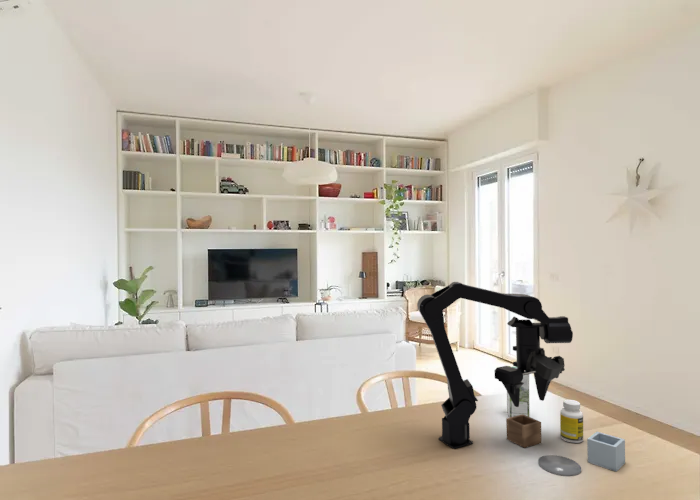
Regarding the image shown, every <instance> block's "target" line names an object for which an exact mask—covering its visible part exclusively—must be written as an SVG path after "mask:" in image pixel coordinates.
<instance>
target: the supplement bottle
mask: <svg viewBox="0 0 700 500" xmlns="http://www.w3.org/2000/svg"><path fill="white" fill-rule="evenodd" d="M562 403H563V404H562V405H563V406H562V407H563V408H561V409H560V411H559V412H560V414H559V416H560V418H559V419H560V421H559V422H560V426H559V427H560V428H559V431H560V432H559V433H560V434H559V435H560V438H561V439H562V440H563V441H565V442H568V443H572V444H580V443H582V442H583V441H584V414H583V412H582V411H581V403H580V402H579V401H577V400H574V399H564V400H563V402H562Z"/></svg>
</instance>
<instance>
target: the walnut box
mask: <svg viewBox="0 0 700 500" xmlns="http://www.w3.org/2000/svg"><path fill="white" fill-rule="evenodd" d="M505 421H506V423H505V424H506V425H505V426H506V440H508V441H509V442H512V443H514V444H516V445H517V446H519V447H521V448H524V449H527V448H530V447H534V446H537V445H540V444H542V443H543V442H542V422H541V421H540V420H537V419H535V418H532V417H528V416H526V415H523V414H522V415H518V416H514V417H507V418H506V419H505Z"/></svg>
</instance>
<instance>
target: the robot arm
mask: <svg viewBox="0 0 700 500" xmlns="http://www.w3.org/2000/svg"><path fill="white" fill-rule="evenodd" d="M459 299H464V300H467V301H468V300H469V301H472V302H476V303H480V304H485V305H489V306H493V307H497V308H501V309H504V310H507V311H509V312H511V313H513V314H516V315H518V316H520V317H523V318H524V319H519V318H518V317H516V316H513V317H512V318H511V319H510V320H509V321H508V322H507V323H506V324H507V325H508V326H509V327H511V328H515V337H516V338H515V345H513V346H512V351H514V352H516V360H515V361H513V362H512V366H516V367H517V369H516V368H512V367H509V366H510V365H504V366H498V367H496V368H495V369H494V379H496V380H497V381H498V382H501V383H502V385H503V386H504V387H503V388H505V390H506V393H507V392H508V394H509V396H510V398H511V400H512V402H513V404H514V406H515V407H519V396H520V387H521V386H522V385H523V384H524V383H522V382H521V381H522V380H523V375H527V374H529V375H532V374H533V377H534V381H535V387H536V391H537V396H538V398H539V401H542V402H543V401H544V400H545V399H546V398H545V397H546V396H547V393H548V391H549V390H548V389H549V386H550V384H551V382H552V381H553V380H554V379H558V378H559V376H560V374H563V372H564V371H565V358H564V357H562V356H560V355H557V356H556V355H555V356H554V357H553V356H549V357H548V356H547V355H546V353H545V349H544V347H541V340H543V342H545V344H570V343H572V341H573V336H574V334H573V329H572V326H571V324H570V322H569V317H567V316H566V315H565V316H563V315H562V316H553V317H549V316H548V315H547V313H546V312H545V311H544V310H543V305H542V302H541V301H540V299H539V298H537V297H535V296H533V295H528V294H523V293H503V292H498V291H494V290H489V289H486V288H485V289H484V288H482V287H481V288H480V287H477V286H473V285H468V284H464V283H462V282H459V281H452V282H451V283H450V284H448V285H447V286H445V287H443V288H441V289H439V290H437V291H435V292H433V293H431V294H424V295H422V296H421V297H420V298H419V299H418V301H417V303H416V307H417V310H418V312H419V314H420V315H421V317H422V320H423V321H424V322H425V325H426V326H427V329H429V332H430V334H431V337H432V340H433V343H434V345H435V349H436V350H437V354H438V356H439V360H440V362H441V365H442V368H443V371H444V374H445V378H446V381H447V382H446V383H447V392H448V398H447V399H446V400H445V401H443V403H442V404H441V406H440V407H441V408H442V411H443V413H444V417H442V418H441V435H442V436H439V437H438V440H439V441H440V442H442V443H444V444H446V445H447V446H448V447H450V448H451V449H454V450H455V449H458V448H462V447H467V446H469V445H473V444H474V442H473V440H471V439H470V435H471V434H470V423H469V421H470V418H471V416H473V414H474V413H475V411H476V410H477V402H478V401H479V399H477V397H476V395H475V393H474V392H475V391H474V387H473V386H474V385H472V383H471V381H469V379H468V378H467V379H463V377H462V374H461V372H460V369H459V366H458V362H457V360H456V357H455V354H454V351H453V348H452V346H451V342H450V340H449V337H448V334H447V331H446V328H445V327H446V326H445V317H444V310H445V309H447V308H448V307H450V306H452V304H454V303H455V302H456V301H457V300H459ZM525 318H526V319H525ZM532 320H535V321H537V322H532Z"/></svg>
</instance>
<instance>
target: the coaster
mask: <svg viewBox="0 0 700 500" xmlns="http://www.w3.org/2000/svg"><path fill="white" fill-rule="evenodd" d="M537 463H538V466H539V467H540V468H541V469H542V470H544V471H546V472H548V473H551V474H553V475H556V476H560V477H561V476H563V477H574V476H578V475H579V474H581V473H582V467H581V466H582V465H580V464H579V462H577V461H576V460H574V459H572V458H569V457H566V456H562V455H557V454H545V455H542V456H540V457H539V458H538V460H537Z"/></svg>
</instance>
